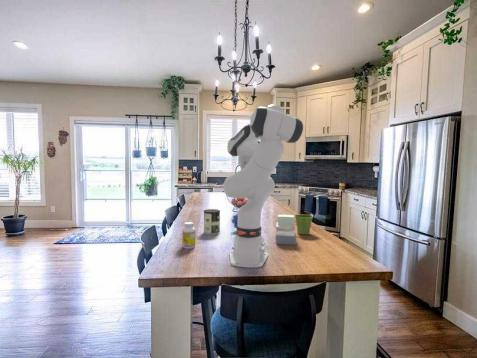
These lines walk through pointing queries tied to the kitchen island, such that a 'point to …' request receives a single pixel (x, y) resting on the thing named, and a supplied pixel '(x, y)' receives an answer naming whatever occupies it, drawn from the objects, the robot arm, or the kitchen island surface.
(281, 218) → the sage brick
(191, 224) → the supplement bottle
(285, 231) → the cream top block
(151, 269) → the kitchen island surface
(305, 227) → the plant pot
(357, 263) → the kitchen island surface
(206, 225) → the coffee can
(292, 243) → the grey base block
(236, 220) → the grapes
